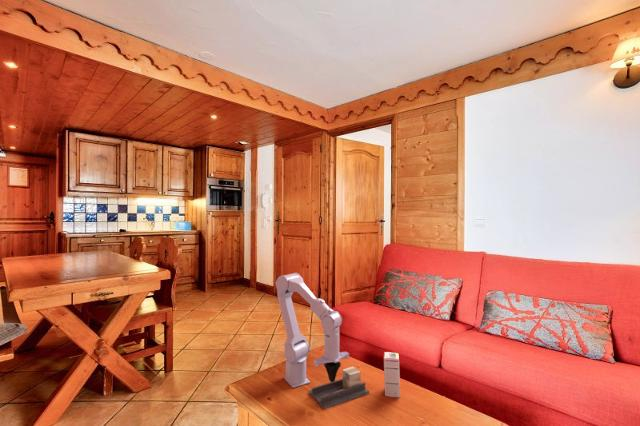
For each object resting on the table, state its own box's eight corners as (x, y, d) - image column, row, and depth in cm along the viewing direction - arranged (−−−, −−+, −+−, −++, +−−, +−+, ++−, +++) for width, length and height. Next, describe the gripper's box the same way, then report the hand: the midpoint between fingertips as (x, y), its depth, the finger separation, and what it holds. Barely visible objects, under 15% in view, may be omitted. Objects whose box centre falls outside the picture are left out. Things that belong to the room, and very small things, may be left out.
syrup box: (400, 397, 118) (400, 359, 118) (384, 396, 119) (383, 357, 119) (399, 389, 123) (399, 352, 124) (384, 388, 125) (383, 351, 125)
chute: (308, 392, 121) (308, 385, 121) (351, 379, 131) (351, 372, 131) (324, 409, 111) (324, 400, 111) (369, 393, 121) (369, 385, 121)
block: (342, 384, 125) (342, 369, 125) (353, 381, 128) (353, 366, 128) (350, 390, 121) (349, 375, 121) (360, 387, 123) (360, 371, 123)
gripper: (320, 352, 113) (320, 390, 113) (353, 344, 120) (353, 380, 120) (311, 345, 119) (311, 381, 119) (343, 338, 126) (343, 372, 126)
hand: (331, 380), depth 120 cm, fingers closed
